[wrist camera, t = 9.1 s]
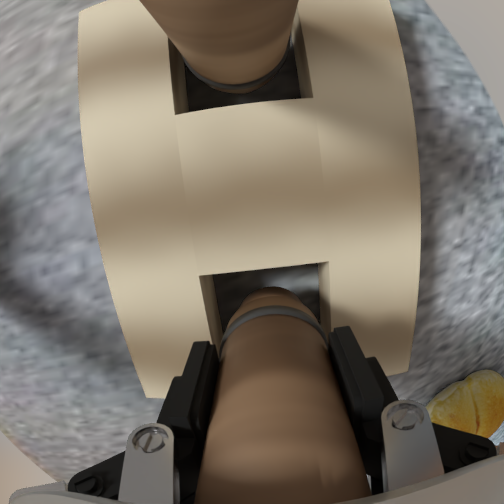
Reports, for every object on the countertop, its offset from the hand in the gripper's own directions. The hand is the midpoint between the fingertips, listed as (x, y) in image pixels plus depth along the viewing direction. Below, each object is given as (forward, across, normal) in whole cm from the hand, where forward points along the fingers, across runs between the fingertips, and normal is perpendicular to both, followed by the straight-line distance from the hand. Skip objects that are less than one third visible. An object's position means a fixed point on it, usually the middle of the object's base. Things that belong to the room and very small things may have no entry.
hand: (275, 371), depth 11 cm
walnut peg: (+4, 0, 0) cm, 4 cm away
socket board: (+6, 0, -6) cm, 9 cm away
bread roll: (+7, -14, +12) cm, 20 cm away
